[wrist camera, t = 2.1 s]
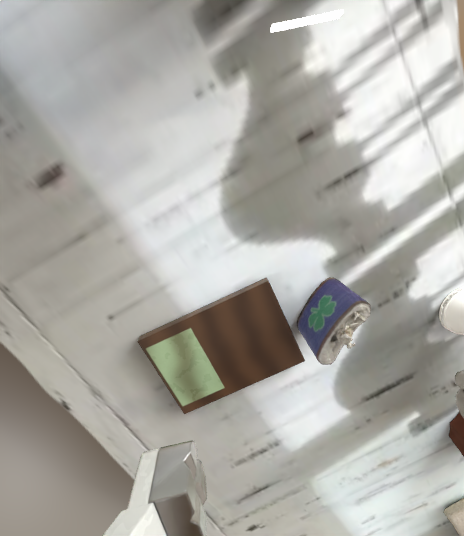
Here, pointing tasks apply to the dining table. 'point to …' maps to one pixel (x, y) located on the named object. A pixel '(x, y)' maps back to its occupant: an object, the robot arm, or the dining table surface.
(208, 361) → the board
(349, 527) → the dining table surface
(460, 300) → the white salt shaker
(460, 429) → the muffin
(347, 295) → the flask
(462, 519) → the washcloth
